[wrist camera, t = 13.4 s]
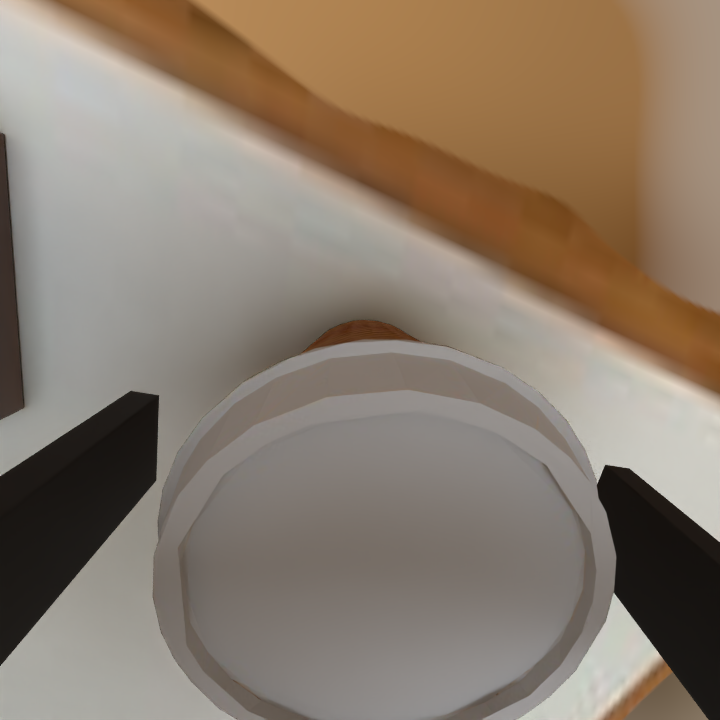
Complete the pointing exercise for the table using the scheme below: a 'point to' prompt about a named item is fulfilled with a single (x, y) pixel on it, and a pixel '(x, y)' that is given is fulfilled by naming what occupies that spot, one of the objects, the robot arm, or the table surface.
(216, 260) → the table surface
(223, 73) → the table surface
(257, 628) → the disposable coffee cup
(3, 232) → the mauve-gray square block
